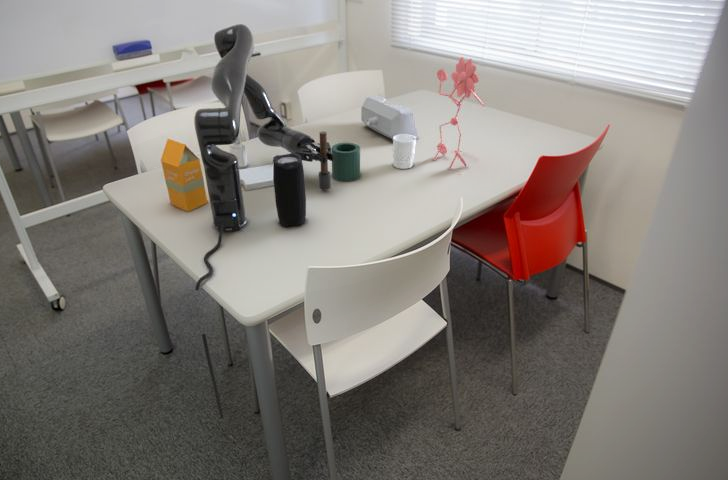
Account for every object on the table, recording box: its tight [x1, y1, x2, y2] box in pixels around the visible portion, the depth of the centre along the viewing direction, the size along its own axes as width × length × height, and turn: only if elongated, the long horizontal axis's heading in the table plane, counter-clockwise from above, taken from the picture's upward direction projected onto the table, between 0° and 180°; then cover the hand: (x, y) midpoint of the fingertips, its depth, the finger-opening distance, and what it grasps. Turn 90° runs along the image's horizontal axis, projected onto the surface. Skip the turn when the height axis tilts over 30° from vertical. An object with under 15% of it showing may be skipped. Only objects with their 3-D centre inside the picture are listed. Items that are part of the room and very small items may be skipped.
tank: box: [360, 94, 419, 141], centre depth 204 cm, size 25×16×12 cm, turn 29°
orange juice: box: [160, 138, 208, 212], centre depth 153 cm, size 8×9×20 cm
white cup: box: [392, 134, 417, 170], centre depth 177 cm, size 8×8×10 cm
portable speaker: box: [272, 152, 307, 228], centre depth 142 cm, size 9×9×20 cm
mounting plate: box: [239, 163, 274, 191], centre depth 172 cm, size 18×13×2 cm
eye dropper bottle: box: [229, 136, 248, 169], centre depth 180 cm, size 4×6×12 cm
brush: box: [318, 131, 332, 191], centre depth 158 cm, size 4×4×18 cm
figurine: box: [433, 56, 486, 176], centre depth 173 cm, size 15×26×35 cm, turn 26°
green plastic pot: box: [331, 142, 361, 182], centre depth 171 cm, size 9×9×10 cm
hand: (329, 159), depth 156 cm, fingers closed on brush, 2 cm apart
